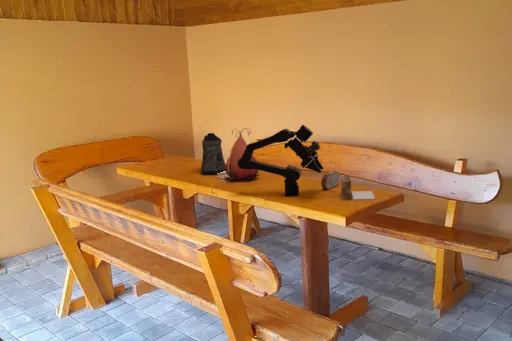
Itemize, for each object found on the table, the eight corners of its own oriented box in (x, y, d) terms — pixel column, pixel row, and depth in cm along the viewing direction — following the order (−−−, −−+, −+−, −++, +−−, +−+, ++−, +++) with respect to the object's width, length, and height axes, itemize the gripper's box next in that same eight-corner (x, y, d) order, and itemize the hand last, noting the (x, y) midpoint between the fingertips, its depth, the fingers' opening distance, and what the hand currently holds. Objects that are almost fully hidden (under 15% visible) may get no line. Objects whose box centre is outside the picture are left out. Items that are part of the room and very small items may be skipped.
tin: (335, 184, 260) (335, 169, 258) (340, 185, 258) (340, 169, 256) (320, 190, 249) (320, 174, 247) (326, 191, 247) (325, 175, 245)
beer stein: (216, 176, 293) (214, 135, 288) (191, 174, 304) (189, 135, 299) (232, 171, 307) (229, 132, 302) (207, 169, 317) (205, 131, 312)
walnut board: (342, 199, 229) (342, 181, 228) (341, 193, 241) (341, 175, 239) (351, 199, 229) (350, 181, 227) (349, 193, 240) (349, 175, 239)
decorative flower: (266, 176, 288) (264, 126, 282) (248, 185, 268) (245, 131, 262) (234, 174, 298) (232, 126, 292) (214, 182, 278) (211, 131, 272)
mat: (353, 200, 228) (353, 198, 228) (351, 192, 241) (351, 191, 241) (374, 199, 226) (374, 198, 226) (371, 192, 240) (371, 191, 240)
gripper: (306, 139, 225) (331, 163, 224) (313, 134, 243) (335, 155, 242) (291, 156, 229) (314, 179, 228) (298, 149, 247) (320, 170, 246)
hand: (321, 170), depth 236 cm, fingers open, 7 cm apart
